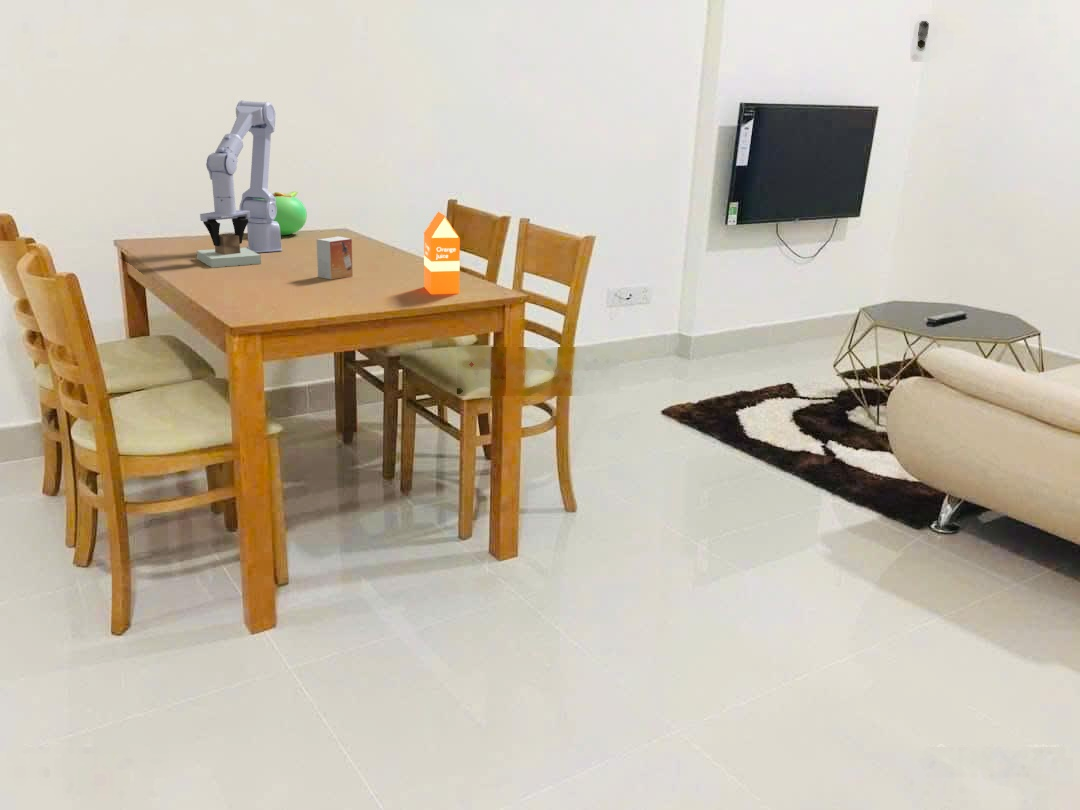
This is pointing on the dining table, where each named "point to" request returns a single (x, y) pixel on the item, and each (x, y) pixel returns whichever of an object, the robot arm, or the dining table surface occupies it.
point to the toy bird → (289, 212)
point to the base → (228, 258)
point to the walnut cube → (228, 244)
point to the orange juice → (441, 257)
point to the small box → (334, 257)
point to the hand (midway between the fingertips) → (227, 244)
